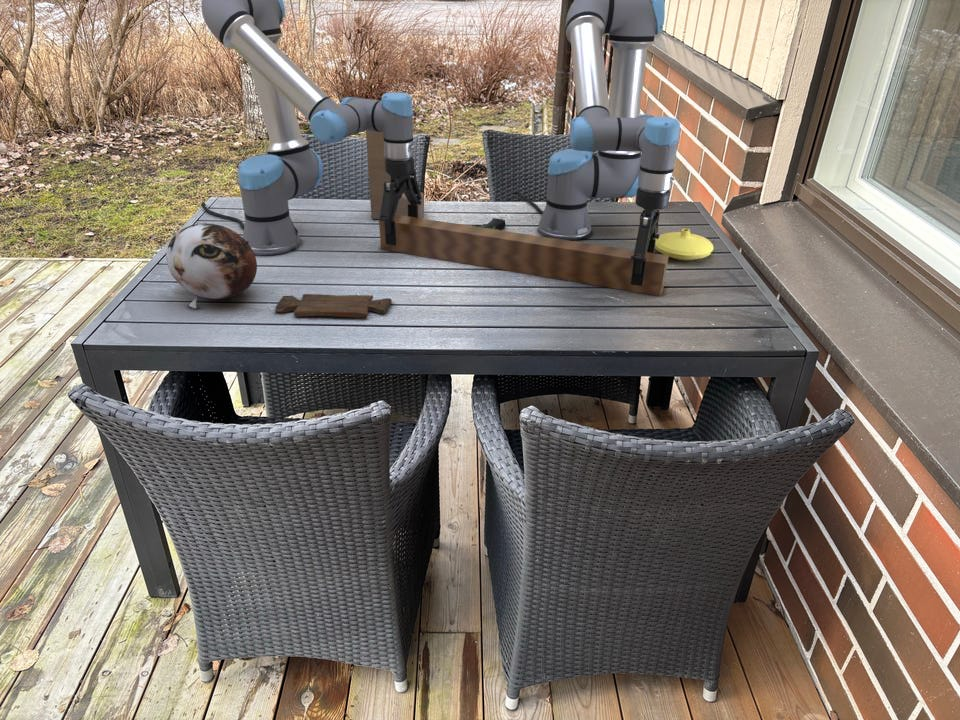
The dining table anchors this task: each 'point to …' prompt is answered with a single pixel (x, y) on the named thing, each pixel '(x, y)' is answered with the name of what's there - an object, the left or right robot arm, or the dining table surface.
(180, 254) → the cat face balloon
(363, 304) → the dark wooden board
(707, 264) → the dining table surface
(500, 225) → the handgun
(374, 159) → the decorative block
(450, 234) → the bar
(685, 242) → the vase
